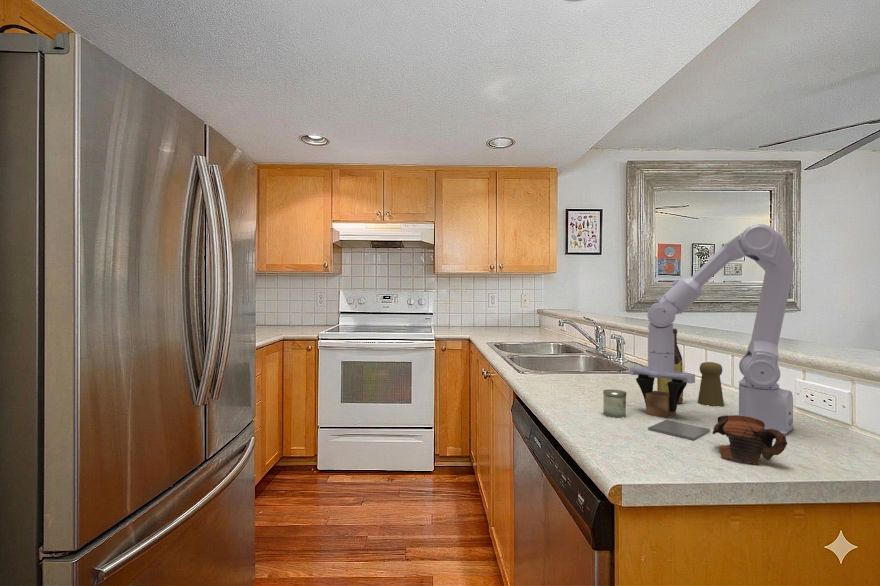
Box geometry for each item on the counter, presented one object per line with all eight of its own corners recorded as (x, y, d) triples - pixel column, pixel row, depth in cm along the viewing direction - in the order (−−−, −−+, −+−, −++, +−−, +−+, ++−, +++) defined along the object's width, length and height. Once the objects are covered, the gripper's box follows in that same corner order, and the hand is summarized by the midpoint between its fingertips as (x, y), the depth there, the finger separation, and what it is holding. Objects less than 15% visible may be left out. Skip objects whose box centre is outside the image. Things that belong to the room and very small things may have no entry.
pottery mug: (701, 456, 80) (701, 412, 84) (730, 472, 83) (729, 429, 87) (776, 460, 70) (773, 410, 74) (806, 477, 74) (801, 428, 77)
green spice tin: (630, 415, 105) (630, 392, 105) (619, 419, 102) (619, 395, 102) (609, 410, 109) (609, 388, 109) (598, 414, 106) (598, 391, 106)
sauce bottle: (688, 404, 115) (688, 329, 115) (664, 404, 116) (664, 329, 116) (675, 398, 122) (675, 327, 122) (652, 398, 122) (652, 327, 122)
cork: (716, 401, 119) (716, 360, 119) (729, 407, 113) (729, 364, 113) (693, 400, 120) (693, 360, 120) (704, 406, 114) (704, 364, 114)
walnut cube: (676, 414, 106) (676, 394, 106) (667, 418, 102) (667, 397, 102) (654, 410, 110) (654, 390, 110) (645, 414, 106) (645, 393, 106)
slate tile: (710, 431, 93) (710, 429, 93) (693, 440, 87) (693, 438, 87) (666, 421, 100) (666, 419, 100) (648, 429, 94) (648, 427, 94)
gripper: (623, 350, 109) (623, 405, 109) (686, 357, 98) (686, 418, 98) (637, 348, 114) (637, 400, 114) (698, 354, 102) (698, 412, 102)
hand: (660, 408), depth 106 cm, fingers closed on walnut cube, 5 cm apart
